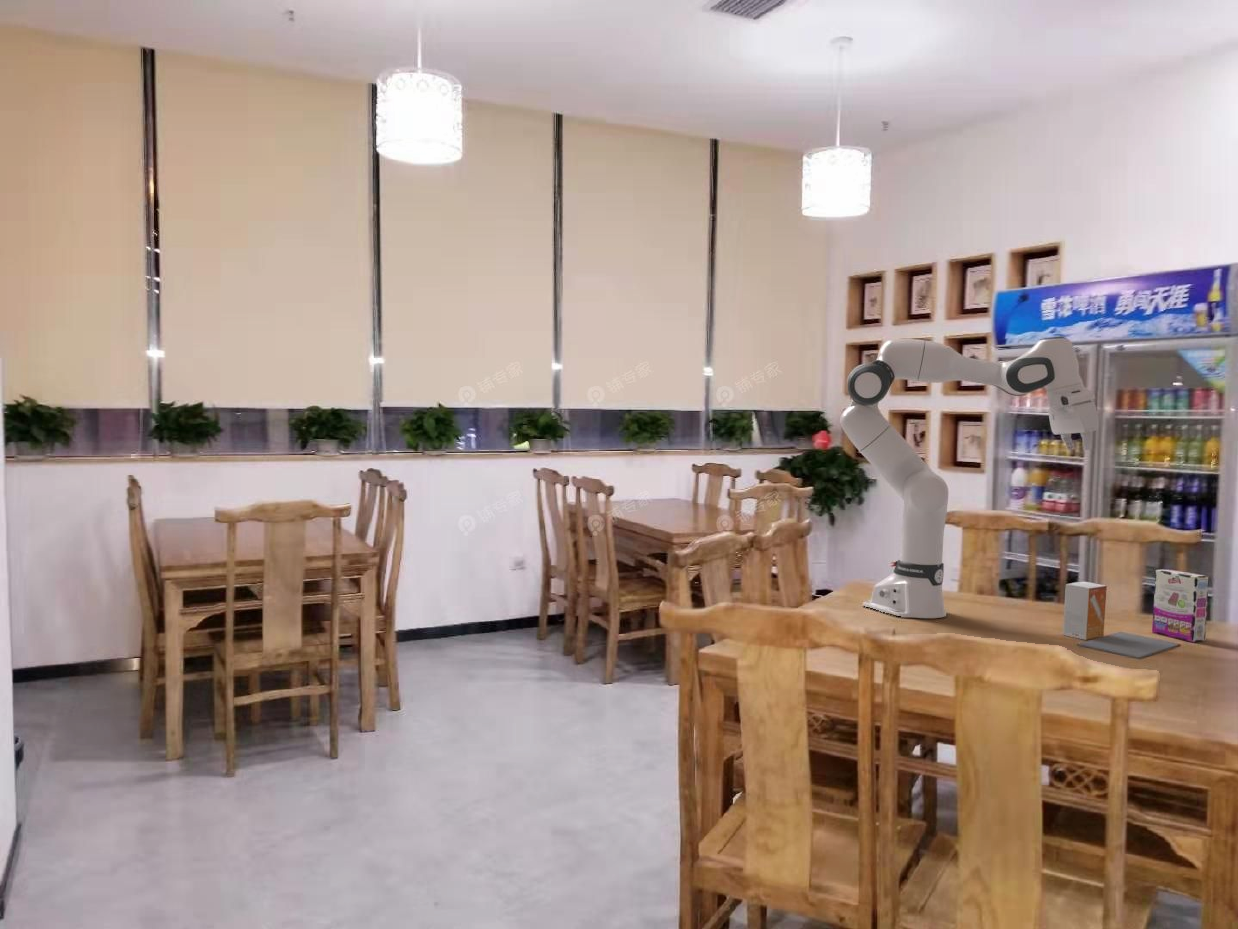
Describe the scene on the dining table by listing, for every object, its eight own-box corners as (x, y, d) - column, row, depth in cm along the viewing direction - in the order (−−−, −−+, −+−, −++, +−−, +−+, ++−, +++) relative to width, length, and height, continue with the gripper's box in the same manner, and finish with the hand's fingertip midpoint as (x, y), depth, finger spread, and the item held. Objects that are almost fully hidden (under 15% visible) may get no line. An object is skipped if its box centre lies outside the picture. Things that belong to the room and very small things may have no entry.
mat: (1077, 645, 223) (1077, 643, 223) (1120, 633, 236) (1120, 631, 236) (1138, 658, 212) (1138, 657, 212) (1180, 645, 225) (1180, 643, 225)
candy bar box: (1206, 641, 230) (1210, 575, 229) (1192, 643, 228) (1196, 576, 227) (1164, 631, 240) (1168, 568, 239) (1150, 632, 238) (1154, 569, 237)
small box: (1086, 640, 228) (1089, 588, 227) (1061, 635, 233) (1064, 583, 232) (1104, 636, 232) (1107, 585, 232) (1080, 631, 238) (1082, 580, 237)
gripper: (1038, 403, 251) (1050, 453, 251) (1072, 397, 231) (1085, 452, 230) (1061, 397, 251) (1073, 447, 251) (1097, 392, 230) (1110, 446, 230)
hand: (1079, 449), depth 240 cm, fingers open, 8 cm apart
